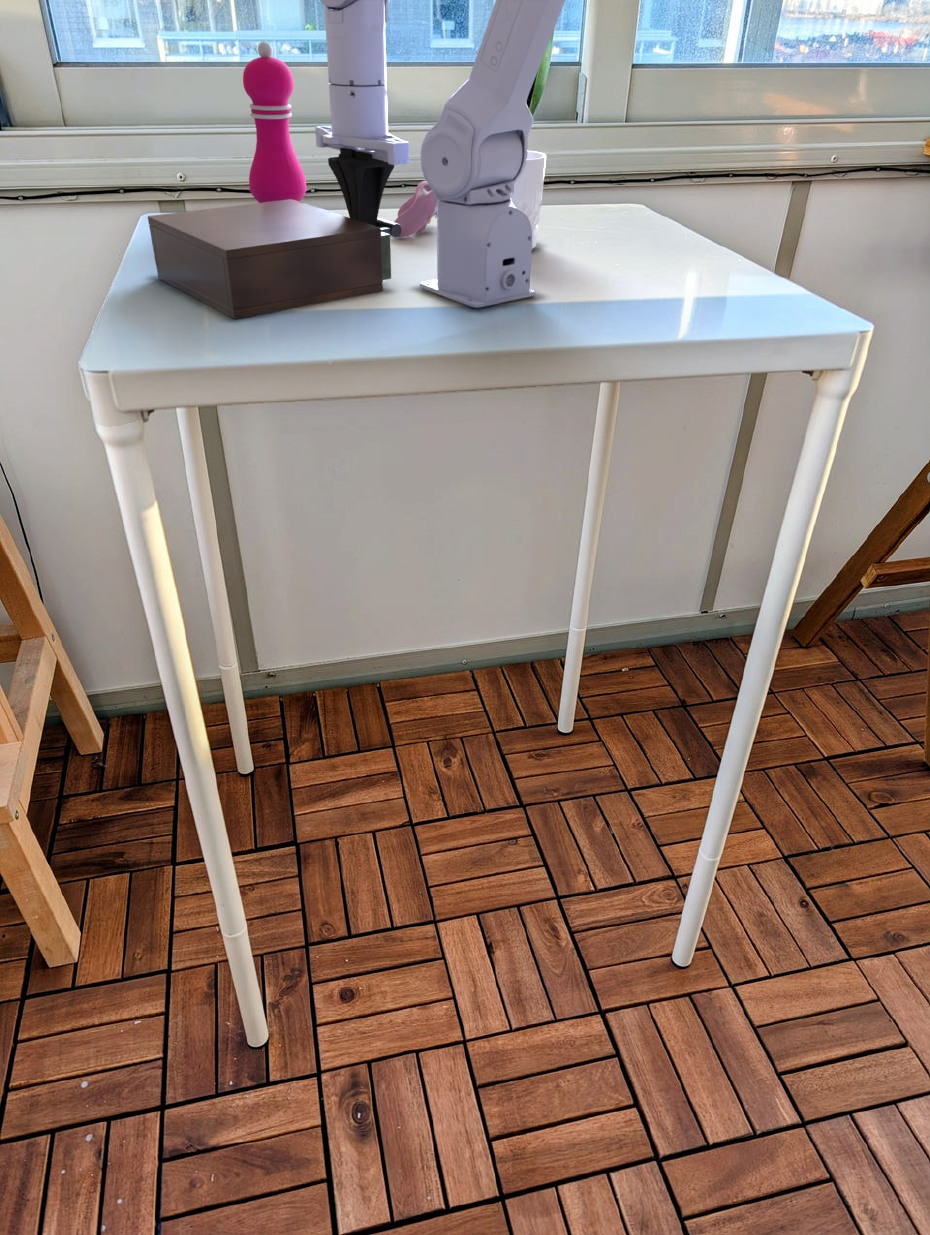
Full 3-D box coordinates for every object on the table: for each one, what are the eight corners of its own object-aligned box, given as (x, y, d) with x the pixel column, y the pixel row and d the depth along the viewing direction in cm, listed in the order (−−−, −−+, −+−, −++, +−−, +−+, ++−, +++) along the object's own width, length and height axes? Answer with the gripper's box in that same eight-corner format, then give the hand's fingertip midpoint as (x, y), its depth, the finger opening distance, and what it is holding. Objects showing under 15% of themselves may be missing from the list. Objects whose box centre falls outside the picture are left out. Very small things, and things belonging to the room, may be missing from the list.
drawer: (345, 242, 106) (342, 202, 103) (428, 272, 95) (428, 228, 93) (182, 267, 95) (175, 223, 93) (255, 303, 85) (250, 255, 82)
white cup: (541, 240, 112) (546, 150, 106) (539, 255, 106) (545, 160, 100) (478, 237, 113) (480, 148, 107) (472, 252, 106) (474, 158, 101)
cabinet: (296, 256, 103) (291, 198, 100) (383, 291, 92) (381, 227, 89) (157, 278, 95) (147, 216, 91) (234, 319, 84) (225, 250, 80)
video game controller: (421, 252, 112) (447, 198, 109) (388, 234, 111) (413, 178, 108) (426, 234, 120) (450, 184, 117) (395, 217, 119) (418, 165, 116)
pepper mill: (297, 229, 115) (282, 43, 103) (244, 226, 116) (223, 41, 104) (316, 218, 121) (304, 41, 109) (265, 215, 122) (247, 39, 110)
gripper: (285, 79, 92) (297, 222, 100) (364, 92, 83) (370, 247, 91) (344, 77, 96) (351, 214, 104) (426, 89, 87) (426, 238, 94)
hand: (364, 229), depth 97 cm, fingers closed
